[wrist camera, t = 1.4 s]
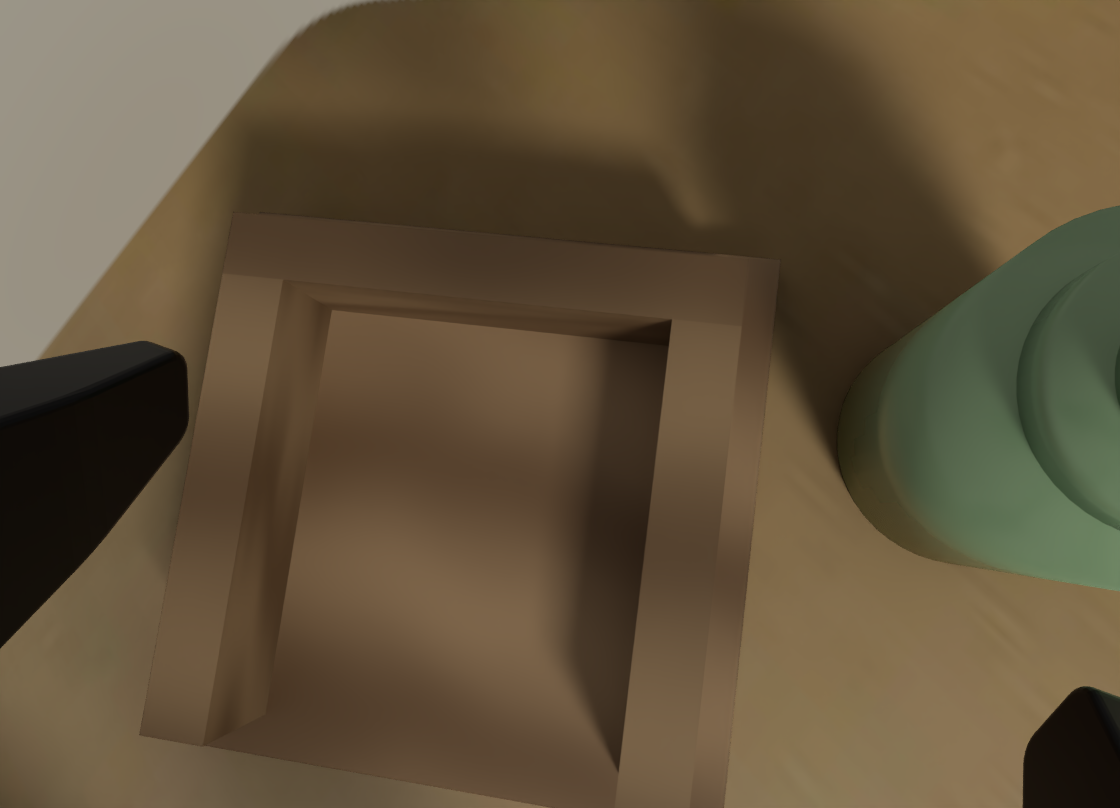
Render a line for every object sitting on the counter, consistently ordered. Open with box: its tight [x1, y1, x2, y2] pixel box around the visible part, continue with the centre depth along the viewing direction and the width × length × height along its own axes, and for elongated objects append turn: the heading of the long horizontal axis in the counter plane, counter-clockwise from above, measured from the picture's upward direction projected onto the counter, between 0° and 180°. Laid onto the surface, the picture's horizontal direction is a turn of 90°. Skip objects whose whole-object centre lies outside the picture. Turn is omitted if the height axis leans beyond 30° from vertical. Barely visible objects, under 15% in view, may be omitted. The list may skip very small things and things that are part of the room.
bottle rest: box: [139, 212, 781, 808], centre depth 21 cm, size 14×14×4 cm
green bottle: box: [837, 206, 1120, 591], centre depth 15 cm, size 6×6×13 cm
